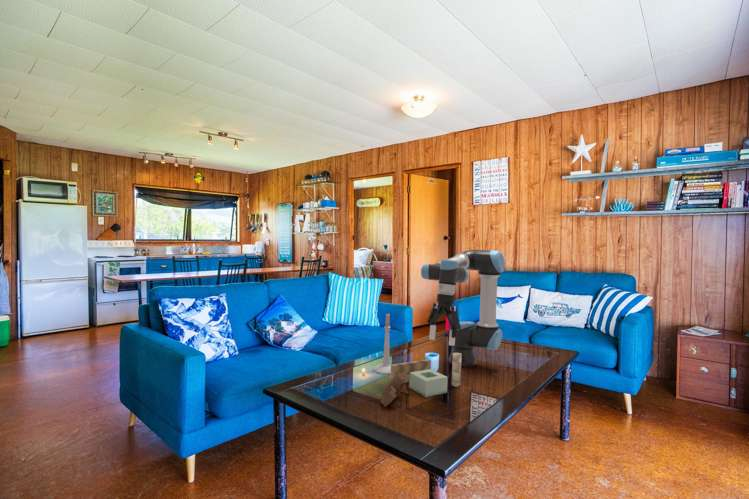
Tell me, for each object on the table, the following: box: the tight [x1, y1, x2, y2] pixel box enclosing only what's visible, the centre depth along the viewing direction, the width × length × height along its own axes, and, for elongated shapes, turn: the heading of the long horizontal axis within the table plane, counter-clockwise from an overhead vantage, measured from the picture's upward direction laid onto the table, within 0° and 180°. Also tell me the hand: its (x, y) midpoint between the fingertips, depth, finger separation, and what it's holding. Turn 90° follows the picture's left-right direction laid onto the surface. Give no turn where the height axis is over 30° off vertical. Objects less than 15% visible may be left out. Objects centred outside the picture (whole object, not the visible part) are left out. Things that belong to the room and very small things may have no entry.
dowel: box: [451, 353, 462, 388], centre depth 183 cm, size 4×4×16 cm
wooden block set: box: [380, 373, 410, 408], centre depth 167 cm, size 18×9×10 cm
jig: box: [389, 358, 432, 384], centre depth 179 cm, size 22×21×10 cm
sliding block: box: [408, 368, 449, 398], centre depth 176 cm, size 12×12×7 cm
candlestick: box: [373, 313, 392, 375], centre depth 205 cm, size 13×13×30 cm
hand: (441, 342), depth 172 cm, fingers open, 13 cm apart
